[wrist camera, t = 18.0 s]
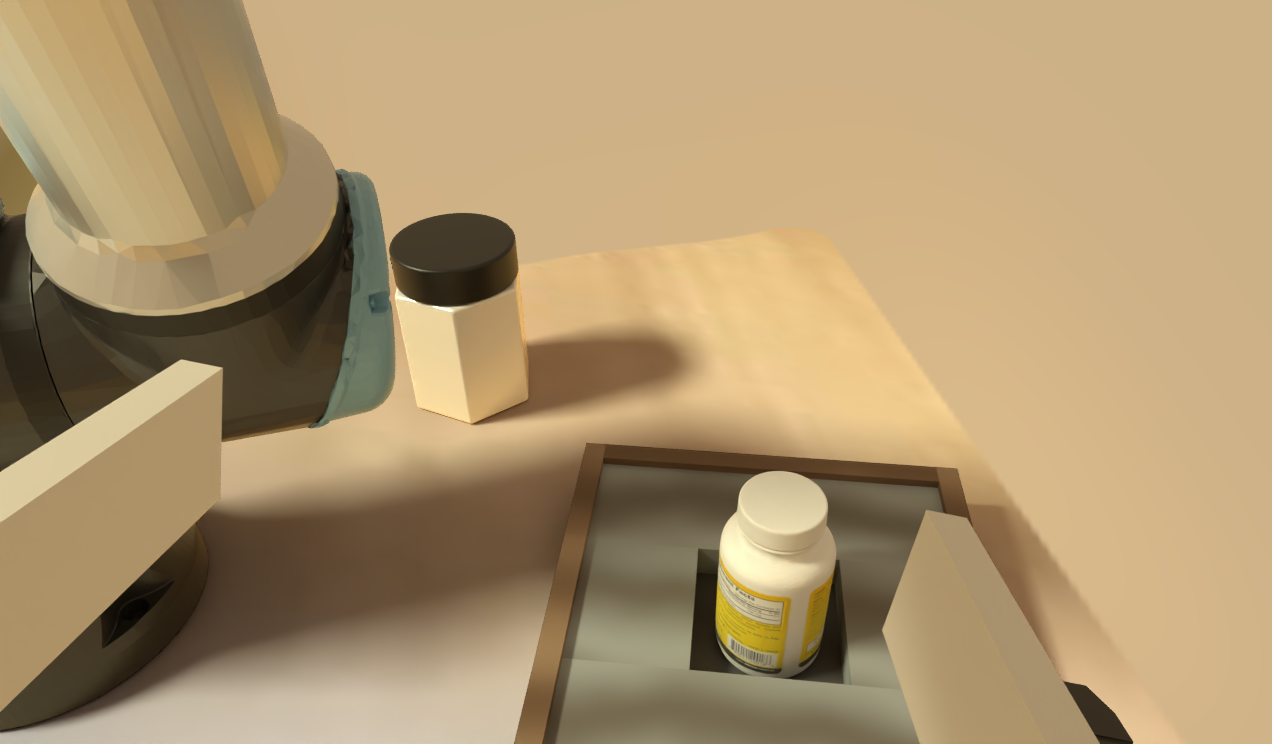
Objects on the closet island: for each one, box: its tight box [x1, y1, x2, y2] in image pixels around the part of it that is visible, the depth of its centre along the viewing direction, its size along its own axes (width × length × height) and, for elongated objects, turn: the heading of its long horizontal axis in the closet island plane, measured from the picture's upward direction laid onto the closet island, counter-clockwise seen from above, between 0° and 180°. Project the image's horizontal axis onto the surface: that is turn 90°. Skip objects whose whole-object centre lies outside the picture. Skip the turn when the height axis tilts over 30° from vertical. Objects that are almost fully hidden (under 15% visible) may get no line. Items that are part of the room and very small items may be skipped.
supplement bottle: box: [715, 471, 836, 679], centre depth 41 cm, size 5×5×10 cm
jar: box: [389, 213, 528, 424], centre depth 59 cm, size 9×8×12 cm
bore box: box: [514, 443, 973, 744], centre depth 44 cm, size 22×22×4 cm
